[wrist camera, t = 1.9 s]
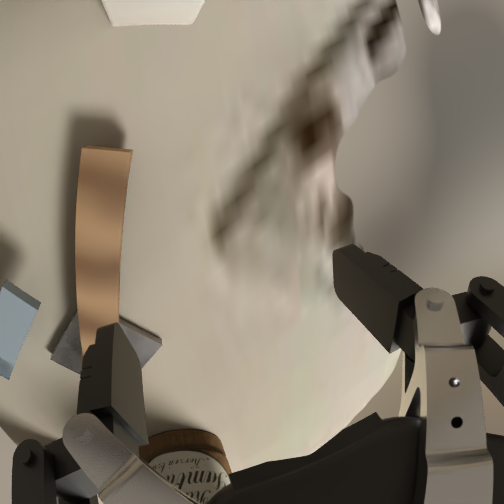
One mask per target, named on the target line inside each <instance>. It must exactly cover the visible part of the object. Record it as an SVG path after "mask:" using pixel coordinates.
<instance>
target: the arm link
mask: <svg viewBox="0 0 504 504" xmlns="http://www.w3.org/2000/svg"><path fill="white" fill-rule="evenodd" d="M132 151H133V150H129V149H120V148H109V147H98V146H85V147H83V148H82V150H81V158H80V167H79V177H78V188H77V203H76V225H75V271H76V293H77V308H78V319H79V329H80V338H81V346H82V353H81V360H80V367H81V368H82V361H83V356H84V354H85V352H86V351H87V349H88V347H89V345H93V344H95V339H96V331H97V328H99V327H103V326H106V325H109V324H112V323H116V322H117V323H118V324H119V285H120V261H121V245H122V232H123V220H124V210H125V201H126V193H127V185H128V177H129V170H130V164H131V157H132ZM81 370H82V369H81Z"/></svg>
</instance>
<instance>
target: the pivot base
mask: <svg viewBox="0 0 504 504" xmlns="http://www.w3.org/2000/svg"><path fill="white" fill-rule="evenodd" d="M119 325H120V326H121V328H122V330H123V331H124V333H125V335H126V336H127V338H128V340H129V341H130V343H131V345H132V346H133V348H134V350H135V351H136V353H137V355H138V358H139V361H140V364H141V369H142V368H143V366H144V365H145V364H146V363H147V362H148V361H149V360H150V358H151V357H152V356H153V355H154V354H155V353H156V351H157V350H158V349H159V348H160V347H161V346H162V339H160V338H158V337H156V336H154V335H152V334H150V333H148V332H146V331H144V330H143V329H141V328H139V327H137V326H135V325H133V324H131V323H129V322H127V321H126V320H124V319H122V318H120V317H119ZM81 353H82V346H81V338H80V329H79V319H78V309H77V310H76V312H75V313H74V315H73V317H72V319H71V320H70V322H69V324H68V325H67V327H66V329H65V331H64V332H63V334H62V336H61V338H60V340H59V341H58V343H57V345H56V347H55V349H54V350H53V352H52V355H51V360H53V361H55V362H56V363H58V364H60V365H62V366H64V367H66V368H68V369H70V370H72V371H74V372H76V373H78V374H80V375H81V371H82V370H81V367H80V360H81Z"/></svg>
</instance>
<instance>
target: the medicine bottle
mask: <svg viewBox="0 0 504 504" xmlns="http://www.w3.org/2000/svg"><path fill="white" fill-rule="evenodd" d="M204 2H205V0H102V3H103V5H104V8H105V10H106V13H107V15H108V18H109V20H110V23H111V25H112V26H114V27H117V26H131V25H191V24H193V23H194V21H195V19H196V17H197V15H198V13H199V11H200V9H201V7H202V6H203V4H204Z"/></svg>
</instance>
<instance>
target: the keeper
mask: <svg viewBox="0 0 504 504" xmlns="http://www.w3.org/2000/svg"><path fill="white" fill-rule="evenodd" d="M40 304H41V302H39V301H38V300H36V299H35V298H33V297H32V296H30V295H28V294H27V293H25V292H24V291H22V290H21V289H20V288H18V287H17V286H15V285H14V284H12V283H11V282H9V281H8V280H6V281H5V283H4V285H3V286H2V289H1V291H0V375H1V376H3V377H4V378H6V379H8V380H9V379H10V376H11V373H12V370H13V368H14V365H15V362H16V360H17V357H18V355H19V352H20V350H21V347H22V345H23V342H24V340H25V338H26V335H27V333H28V331H29V328H30V326H31V324H32V322H33V319H34V317H35V315H36V313H37V311H38V309H39V306H40Z"/></svg>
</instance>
